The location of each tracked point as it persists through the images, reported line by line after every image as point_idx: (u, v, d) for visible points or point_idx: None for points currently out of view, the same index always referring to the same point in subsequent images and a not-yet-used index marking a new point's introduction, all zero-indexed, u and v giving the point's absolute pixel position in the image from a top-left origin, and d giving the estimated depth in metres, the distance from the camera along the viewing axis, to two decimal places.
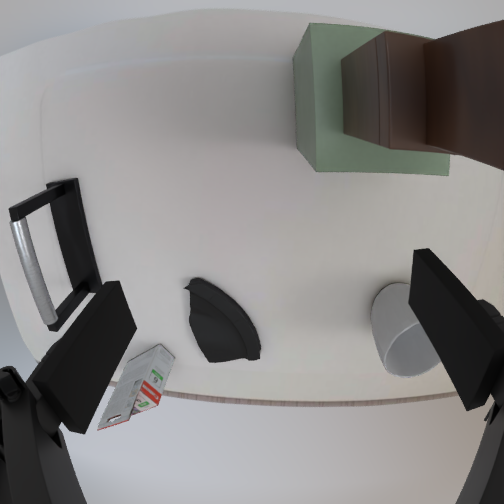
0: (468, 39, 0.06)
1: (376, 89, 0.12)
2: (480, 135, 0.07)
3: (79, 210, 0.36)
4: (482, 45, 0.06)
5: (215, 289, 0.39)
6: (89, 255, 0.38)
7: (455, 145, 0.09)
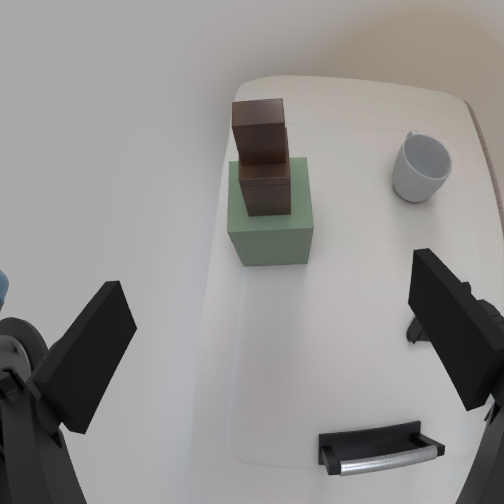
0: (240, 144, 0.27)
1: (265, 186, 0.31)
2: (276, 138, 0.27)
3: (347, 434, 0.40)
4: (242, 138, 0.27)
5: (414, 320, 0.44)
6: (386, 429, 0.39)
7: (282, 148, 0.28)
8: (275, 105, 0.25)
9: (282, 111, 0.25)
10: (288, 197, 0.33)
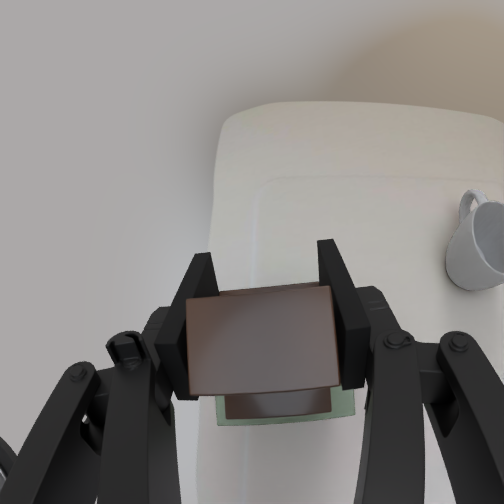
0: None
1: None
2: None
3: None
4: None
5: None
6: None
7: None
8: (311, 317, 0.09)
9: (333, 342, 0.09)
10: None
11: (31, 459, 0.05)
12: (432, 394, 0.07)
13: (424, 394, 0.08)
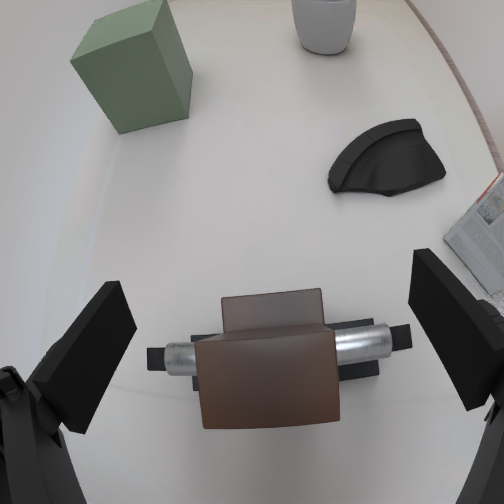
0: None
1: None
2: None
3: None
4: None
5: None
6: None
7: None
8: (316, 361, 0.09)
9: (335, 384, 0.09)
10: None
11: None
12: None
13: None
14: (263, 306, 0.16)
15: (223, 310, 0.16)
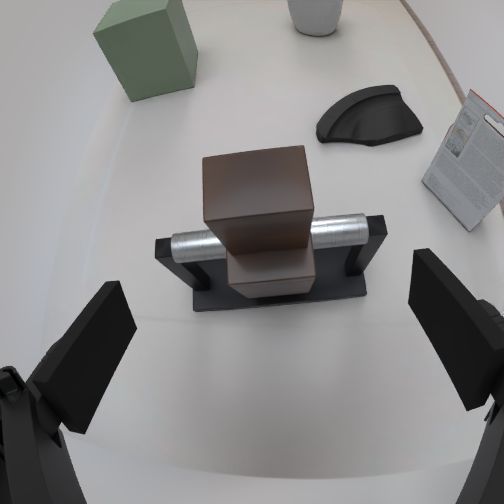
0: (225, 238, 0.15)
1: (273, 284, 0.19)
2: (293, 228, 0.14)
3: None
4: (229, 233, 0.14)
5: None
6: None
7: (304, 236, 0.16)
8: (291, 164, 0.13)
9: (307, 179, 0.13)
10: (308, 286, 0.21)
11: None
12: None
13: None
14: None
15: None
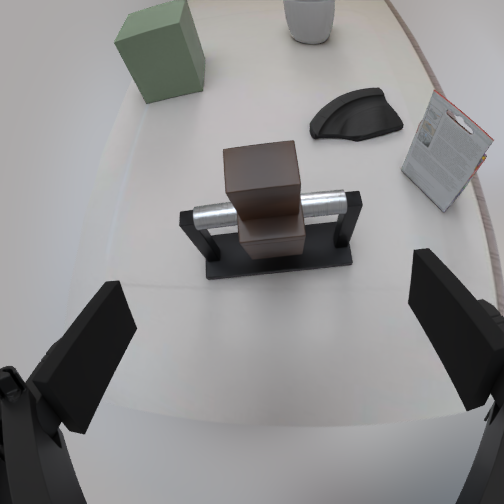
0: (239, 206, 0.21)
1: (273, 243, 0.25)
2: (287, 198, 0.20)
3: None
4: (241, 201, 0.20)
5: None
6: None
7: (295, 204, 0.22)
8: (285, 153, 0.19)
9: (296, 164, 0.18)
10: (300, 246, 0.28)
11: None
12: None
13: None
14: None
15: None
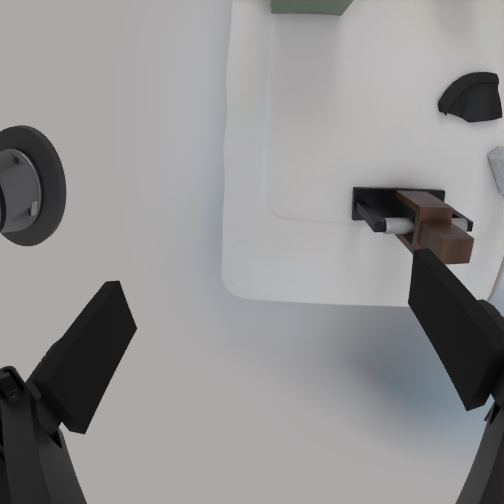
0: None
1: None
2: None
3: (379, 190, 0.45)
4: None
5: (446, 93, 0.37)
6: None
7: None
8: (468, 246, 0.29)
9: (470, 252, 0.30)
10: None
11: None
12: None
13: None
14: (434, 212, 0.34)
15: (420, 212, 0.34)
